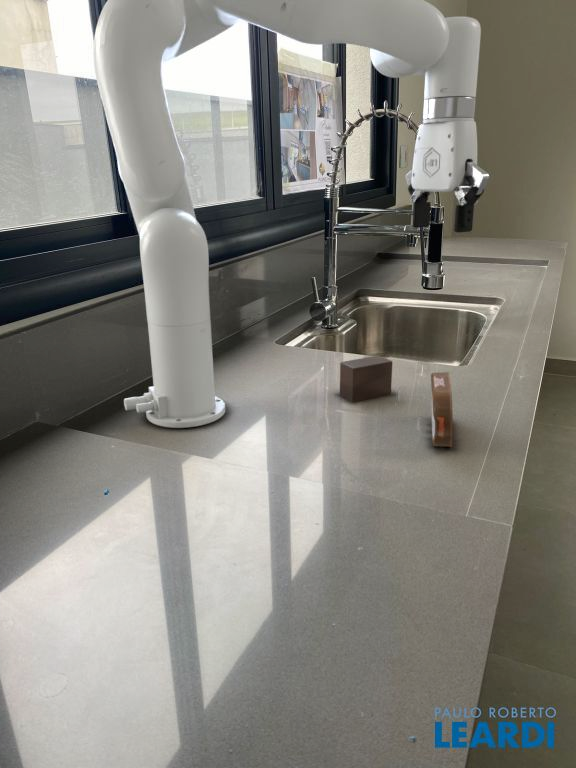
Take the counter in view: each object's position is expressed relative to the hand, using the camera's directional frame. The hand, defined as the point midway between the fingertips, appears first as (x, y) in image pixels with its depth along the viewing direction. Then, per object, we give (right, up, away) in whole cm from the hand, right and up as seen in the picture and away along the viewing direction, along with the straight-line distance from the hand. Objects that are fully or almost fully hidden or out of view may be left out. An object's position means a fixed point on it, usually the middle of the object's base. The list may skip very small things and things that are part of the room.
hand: (441, 229), depth 97 cm
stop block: (-11, -27, +8) cm, 30 cm away
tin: (-2, -32, -8) cm, 34 cm away
